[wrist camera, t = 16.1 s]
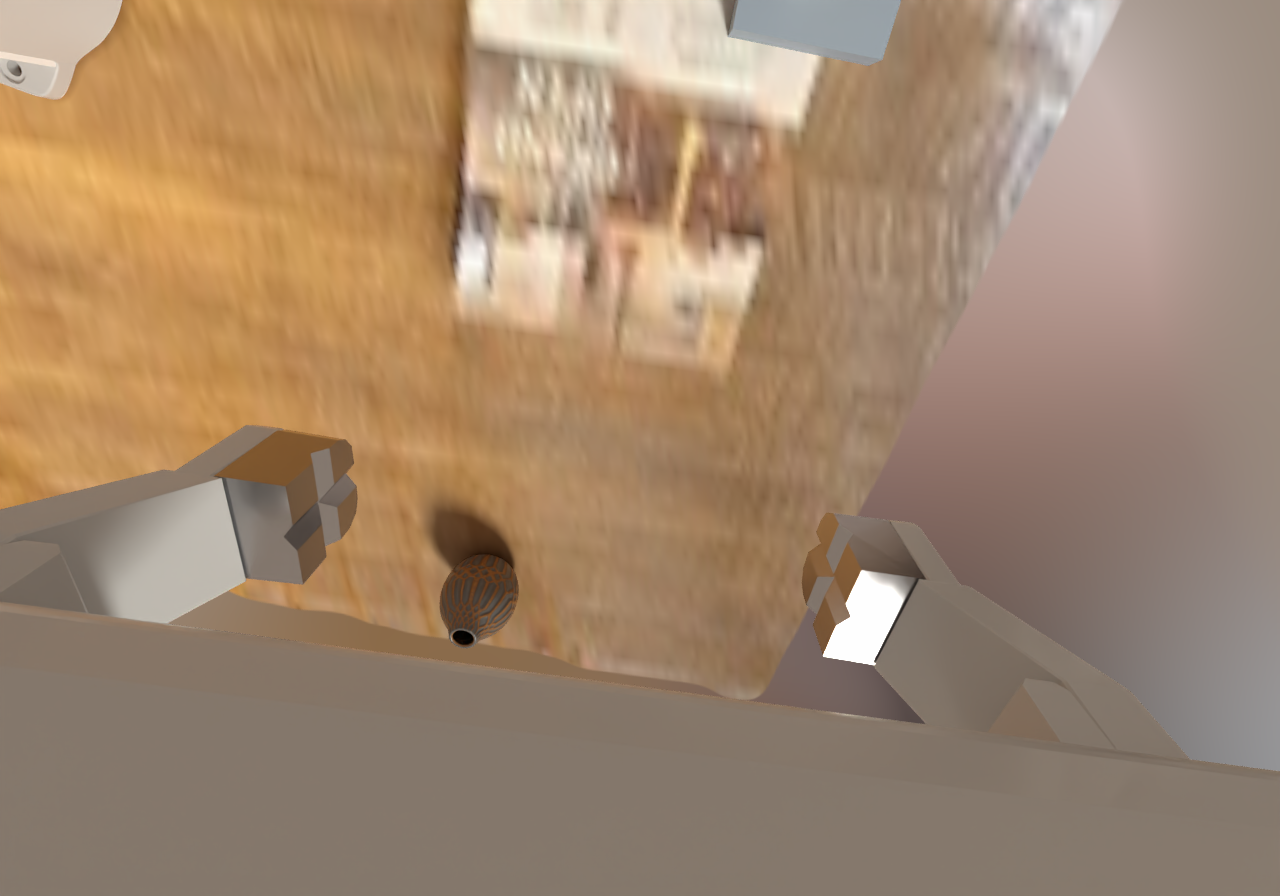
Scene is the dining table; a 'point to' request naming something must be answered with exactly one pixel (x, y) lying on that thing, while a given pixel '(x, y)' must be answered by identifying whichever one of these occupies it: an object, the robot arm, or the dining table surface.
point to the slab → (818, 26)
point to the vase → (478, 599)
